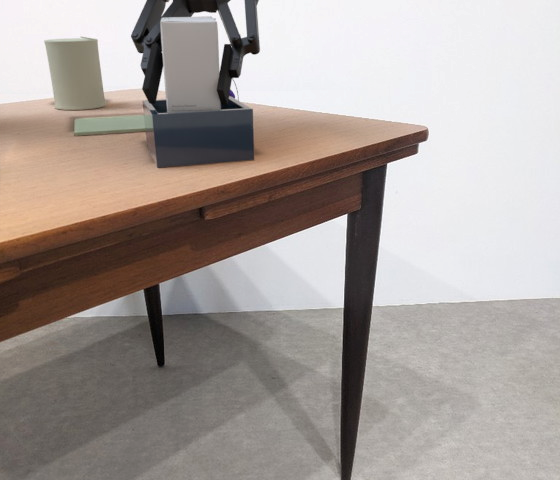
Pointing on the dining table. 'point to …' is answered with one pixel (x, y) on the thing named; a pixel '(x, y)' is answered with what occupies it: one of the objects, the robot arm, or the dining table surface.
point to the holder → (199, 134)
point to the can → (75, 73)
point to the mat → (109, 125)
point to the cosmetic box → (190, 63)
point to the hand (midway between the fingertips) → (185, 96)
